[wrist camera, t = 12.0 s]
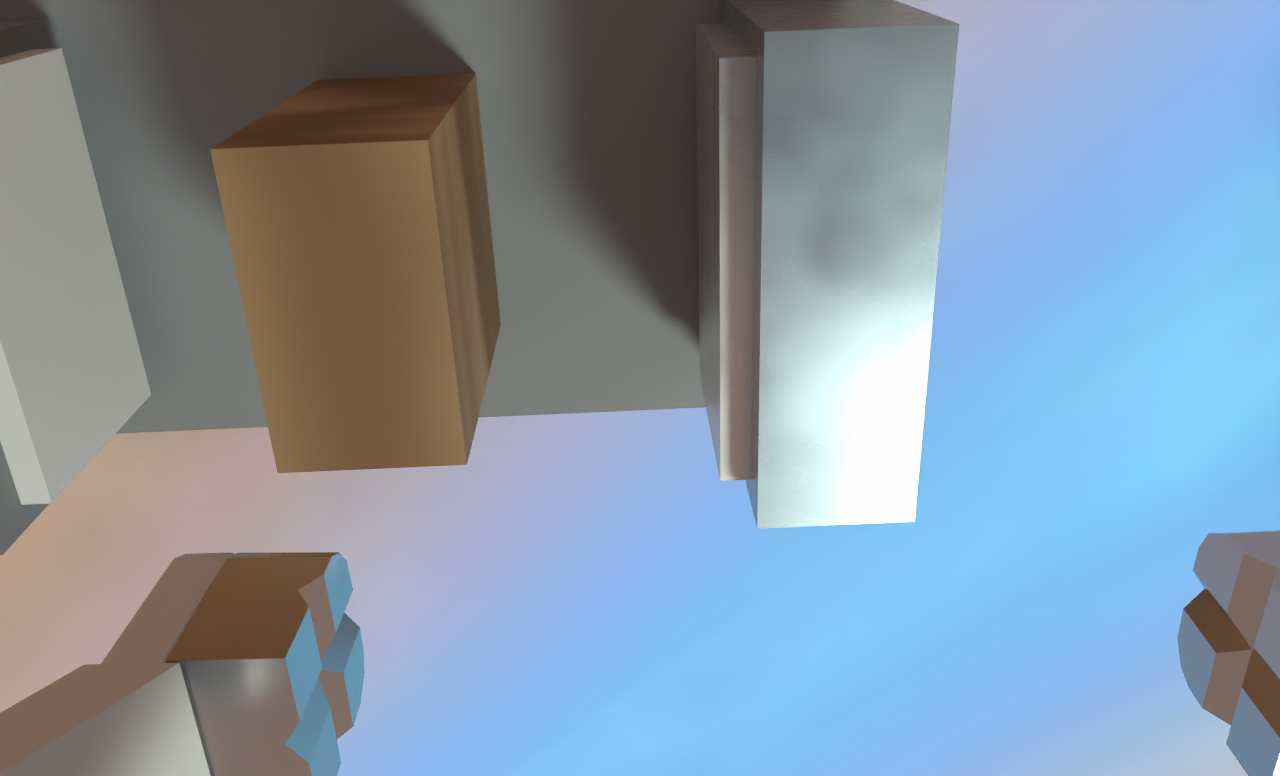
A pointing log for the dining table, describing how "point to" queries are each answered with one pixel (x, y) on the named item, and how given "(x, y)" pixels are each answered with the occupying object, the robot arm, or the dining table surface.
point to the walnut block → (366, 269)
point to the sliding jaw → (820, 249)
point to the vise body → (196, 230)
